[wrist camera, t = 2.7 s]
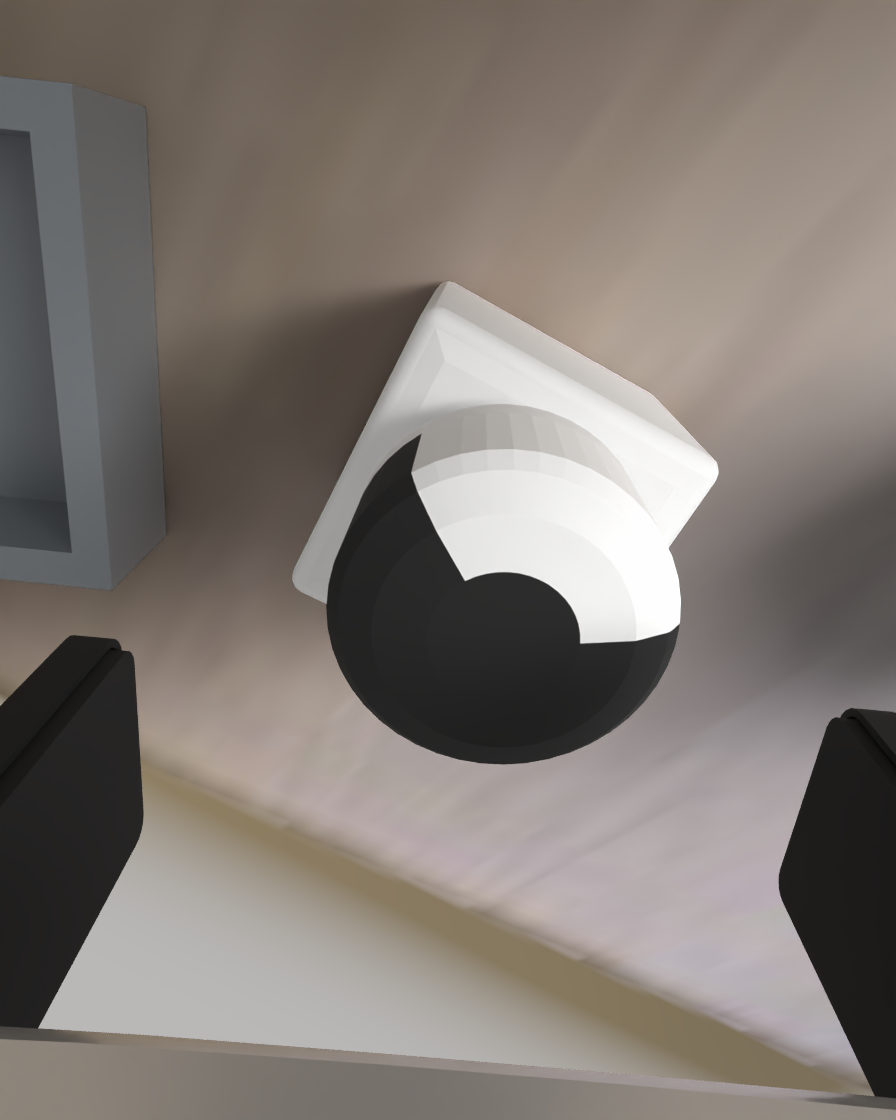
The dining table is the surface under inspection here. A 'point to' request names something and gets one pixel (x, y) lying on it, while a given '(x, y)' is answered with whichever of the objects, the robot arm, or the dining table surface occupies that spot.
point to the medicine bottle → (505, 541)
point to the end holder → (76, 338)
